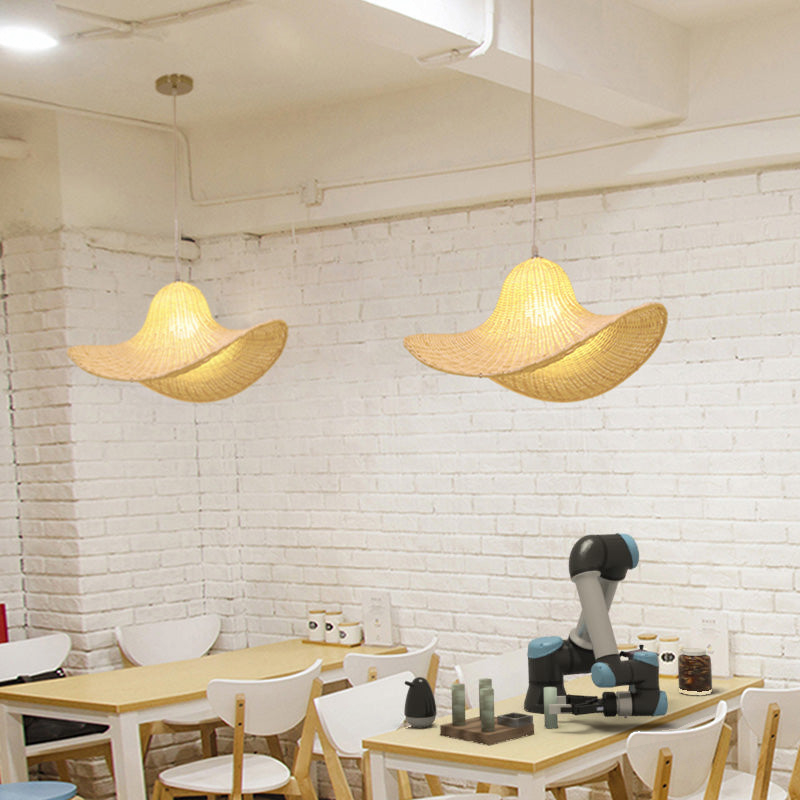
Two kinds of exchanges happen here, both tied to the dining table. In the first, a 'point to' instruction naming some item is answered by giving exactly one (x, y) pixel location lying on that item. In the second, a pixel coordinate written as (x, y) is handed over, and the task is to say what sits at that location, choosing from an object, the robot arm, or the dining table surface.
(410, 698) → the pump dispenser
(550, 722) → the green leg
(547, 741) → the dining table surface
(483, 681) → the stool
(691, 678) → the jar
